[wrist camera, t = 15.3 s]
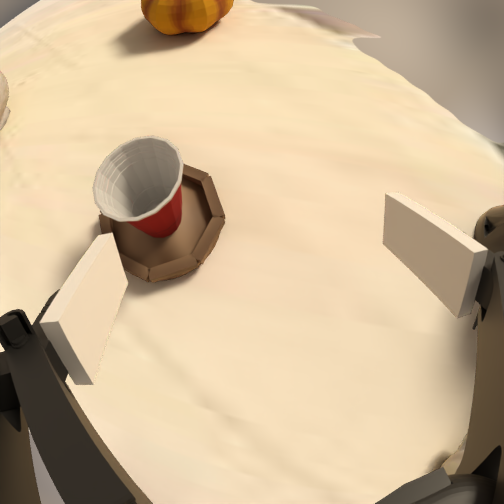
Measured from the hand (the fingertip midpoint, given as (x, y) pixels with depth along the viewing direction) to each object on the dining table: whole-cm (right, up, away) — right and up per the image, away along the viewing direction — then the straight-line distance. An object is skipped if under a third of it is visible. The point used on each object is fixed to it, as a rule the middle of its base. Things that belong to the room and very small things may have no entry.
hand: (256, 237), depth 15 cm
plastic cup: (-13, +4, +29) cm, 32 cm away
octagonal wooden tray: (-13, +4, +30) cm, 33 cm away
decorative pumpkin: (-15, +55, +47) cm, 74 cm away
